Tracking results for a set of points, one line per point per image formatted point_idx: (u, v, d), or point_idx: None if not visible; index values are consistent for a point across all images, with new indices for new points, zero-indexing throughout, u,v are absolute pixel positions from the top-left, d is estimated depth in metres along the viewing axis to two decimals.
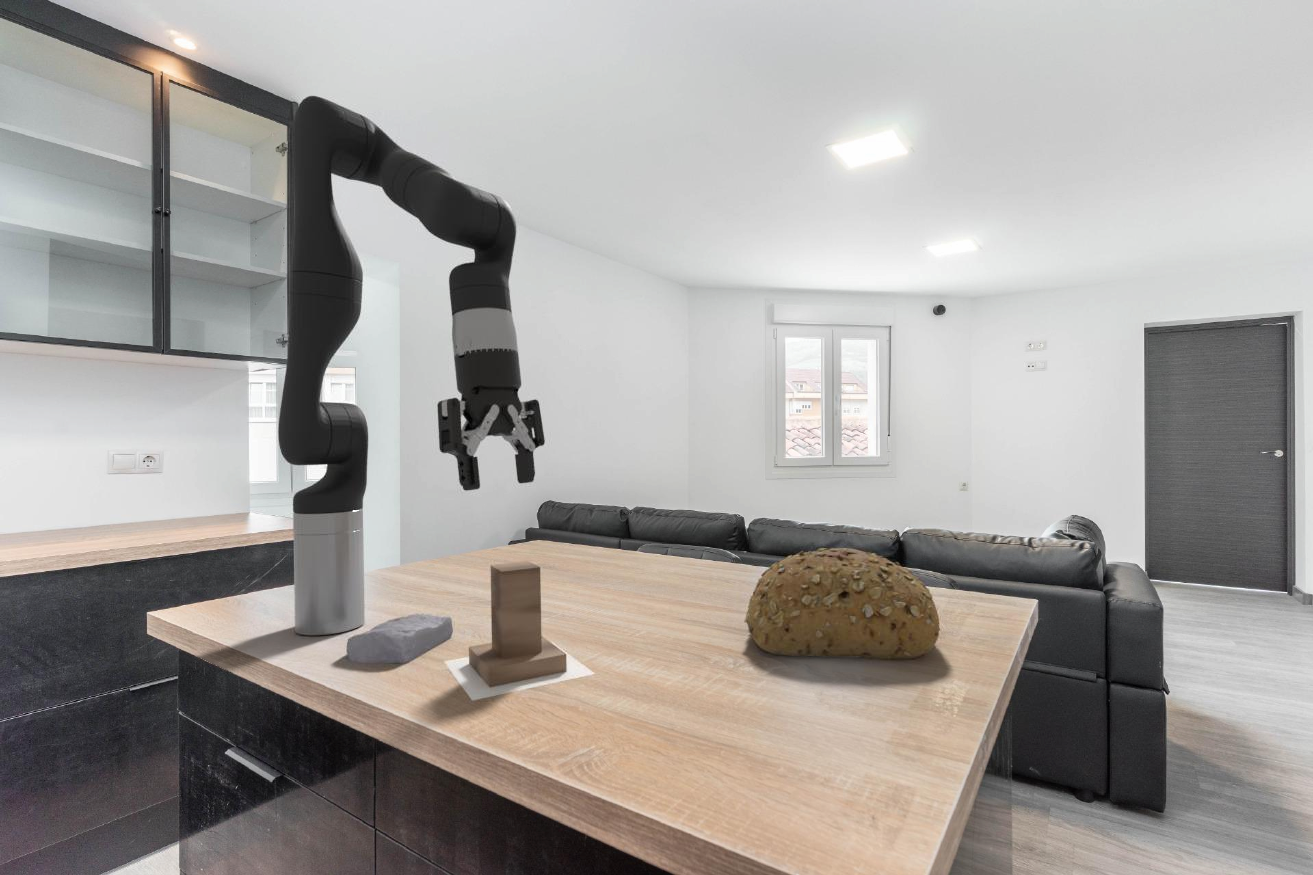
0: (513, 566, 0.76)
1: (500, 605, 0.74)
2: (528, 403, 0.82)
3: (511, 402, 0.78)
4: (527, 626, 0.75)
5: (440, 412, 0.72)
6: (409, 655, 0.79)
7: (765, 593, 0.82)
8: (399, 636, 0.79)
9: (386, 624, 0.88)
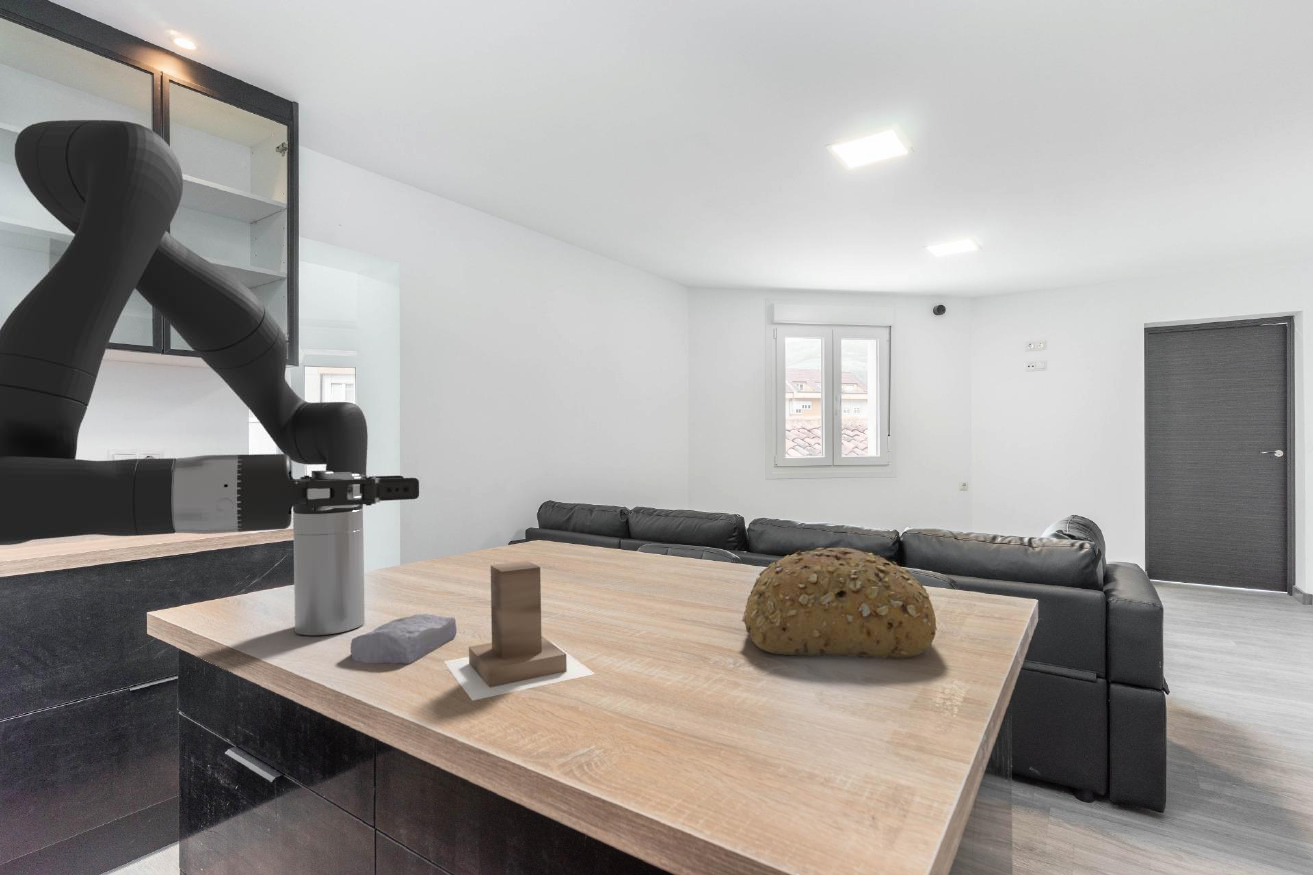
0: (513, 566, 0.76)
1: (500, 605, 0.74)
2: None
3: None
4: (527, 626, 0.75)
5: None
6: (413, 655, 0.79)
7: (762, 592, 0.82)
8: (403, 637, 0.79)
9: (390, 624, 0.87)
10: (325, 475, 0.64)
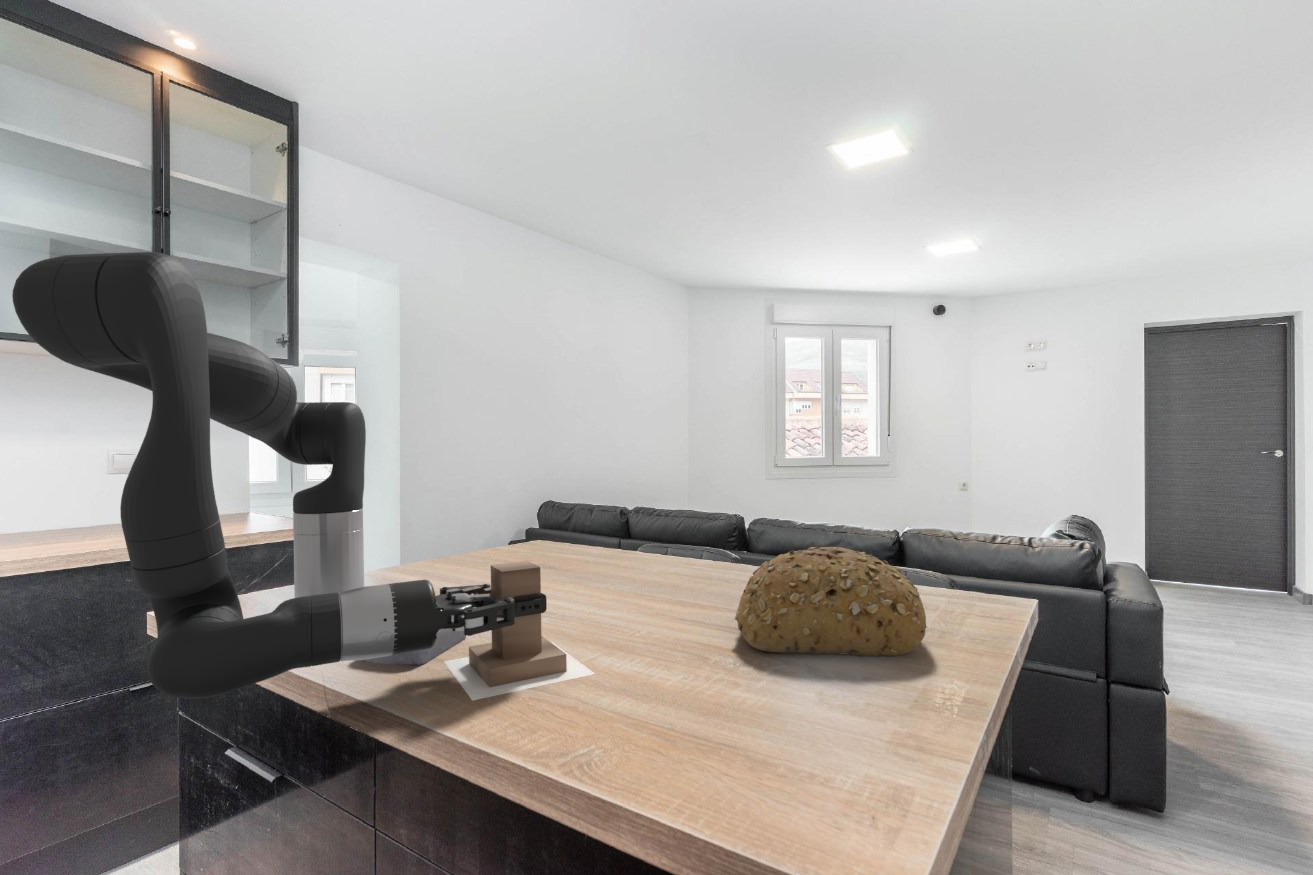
0: (513, 566, 0.76)
1: None
2: None
3: None
4: (527, 626, 0.75)
5: None
6: (426, 656, 0.78)
7: (754, 591, 0.83)
8: None
9: None
10: (465, 599, 0.71)
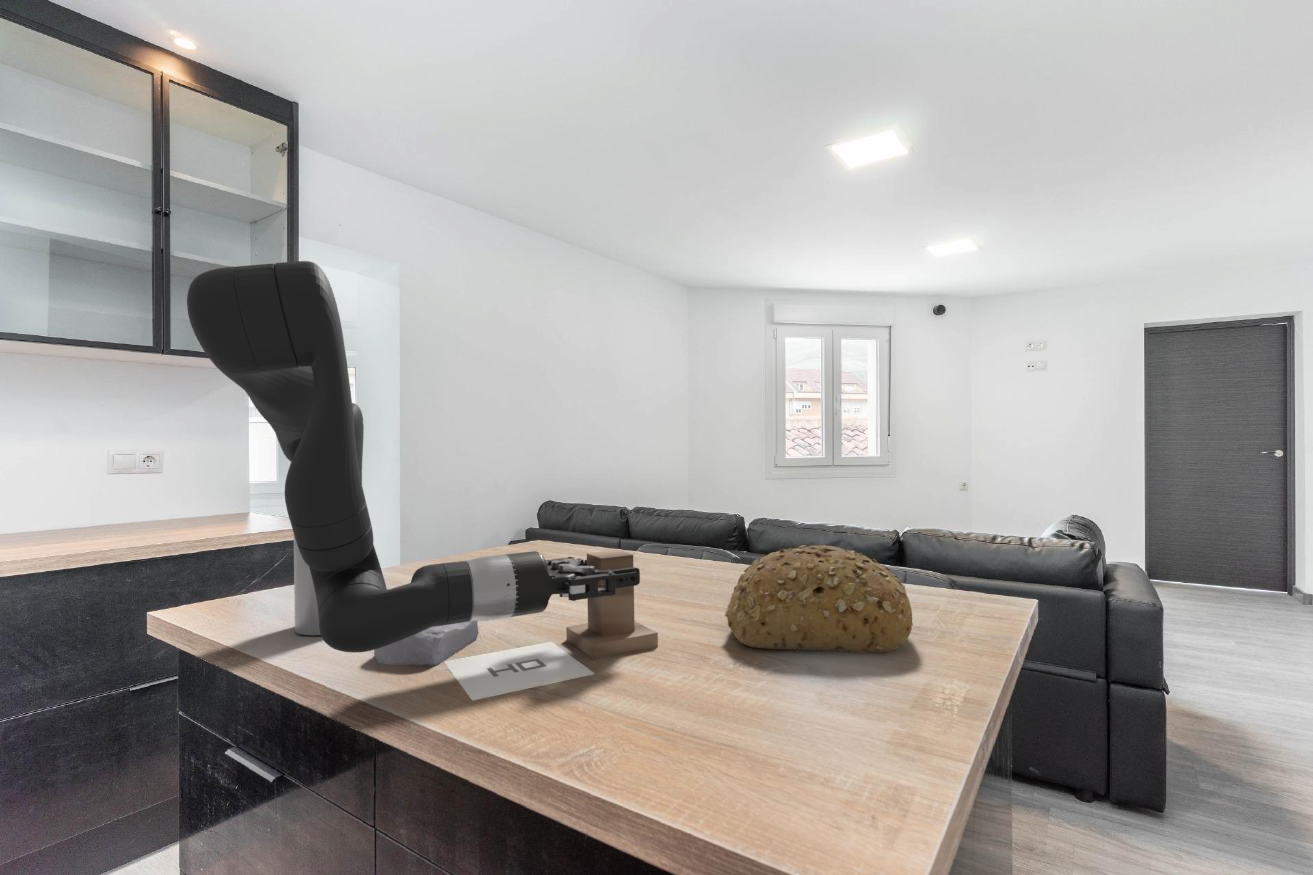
0: (608, 554, 0.85)
1: None
2: None
3: None
4: (622, 607, 0.83)
5: None
6: (439, 657, 0.78)
7: (744, 588, 0.84)
8: (429, 638, 0.78)
9: None
10: (570, 569, 0.80)
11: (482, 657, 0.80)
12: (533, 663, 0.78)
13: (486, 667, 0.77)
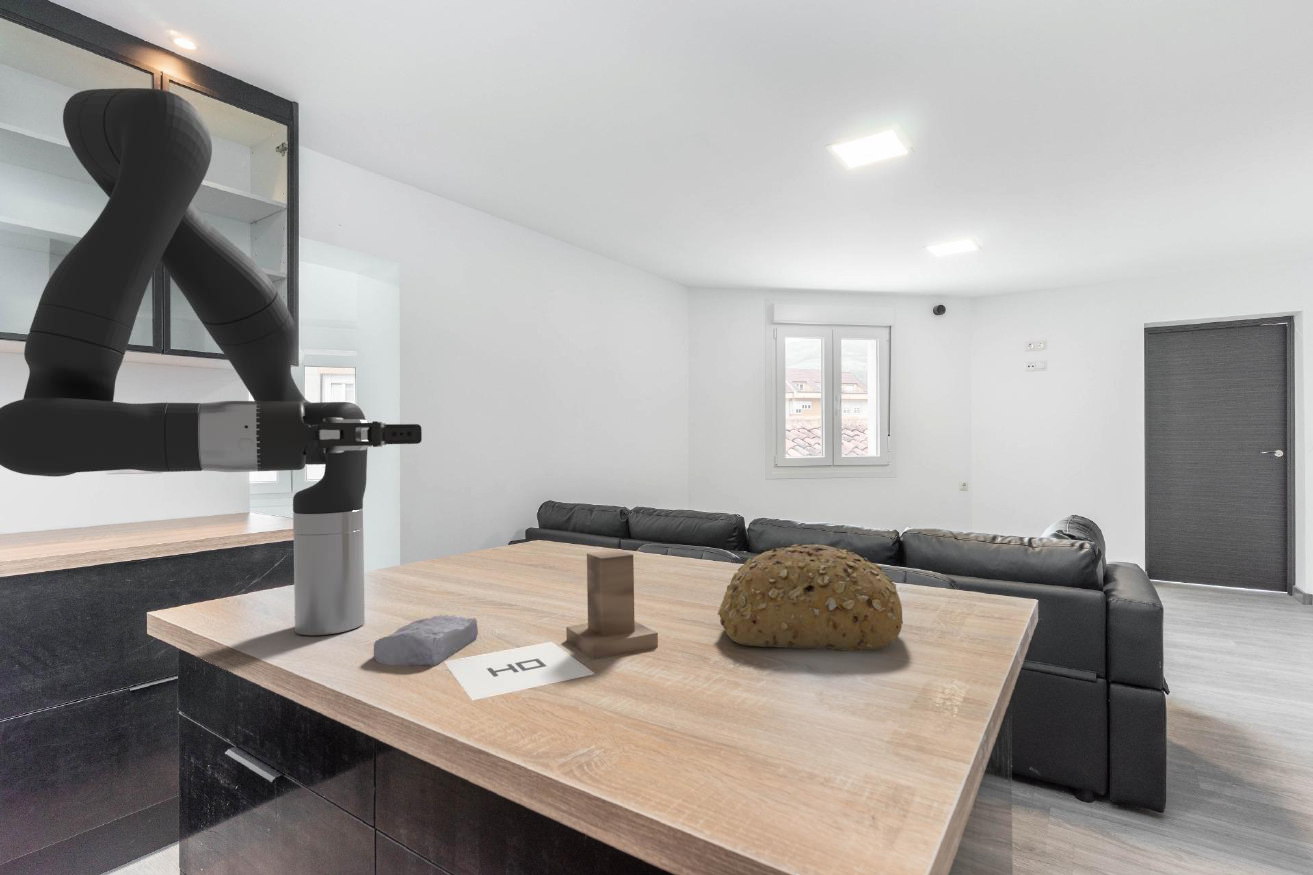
0: (608, 554, 0.85)
1: (600, 589, 0.82)
2: None
3: None
4: (622, 607, 0.83)
5: None
6: (438, 657, 0.78)
7: (736, 587, 0.85)
8: (428, 638, 0.78)
9: (410, 626, 0.87)
10: (335, 421, 0.70)
11: (482, 657, 0.80)
12: (533, 663, 0.78)
13: (486, 667, 0.77)
